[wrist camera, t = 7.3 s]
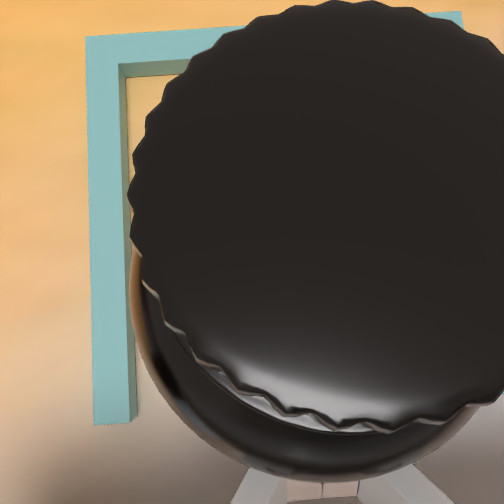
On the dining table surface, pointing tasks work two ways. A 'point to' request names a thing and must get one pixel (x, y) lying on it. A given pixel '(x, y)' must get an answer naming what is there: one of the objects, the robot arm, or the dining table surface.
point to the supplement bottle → (325, 239)
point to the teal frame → (125, 196)
